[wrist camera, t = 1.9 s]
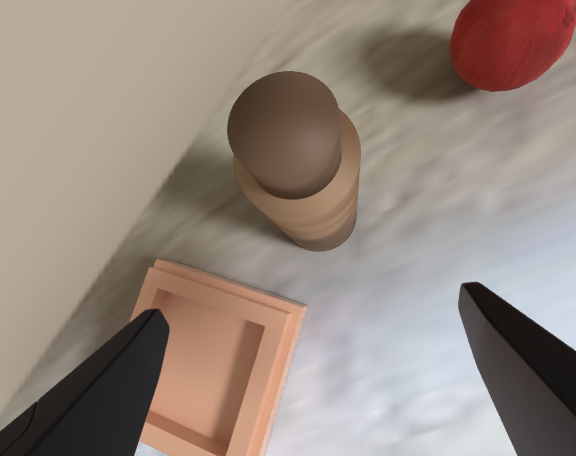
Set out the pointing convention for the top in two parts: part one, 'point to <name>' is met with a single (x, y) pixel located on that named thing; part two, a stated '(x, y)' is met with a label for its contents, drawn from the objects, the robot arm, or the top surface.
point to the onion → (510, 40)
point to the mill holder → (217, 362)
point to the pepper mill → (297, 158)
